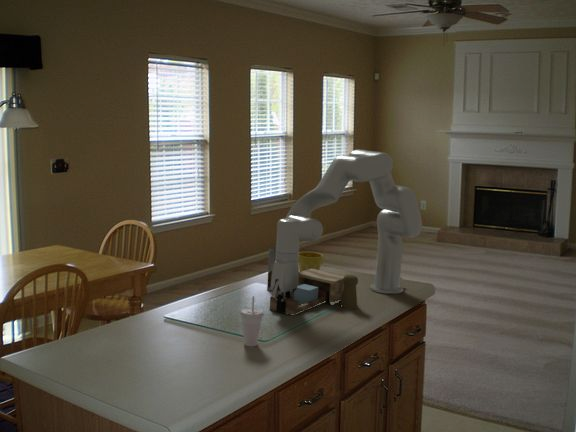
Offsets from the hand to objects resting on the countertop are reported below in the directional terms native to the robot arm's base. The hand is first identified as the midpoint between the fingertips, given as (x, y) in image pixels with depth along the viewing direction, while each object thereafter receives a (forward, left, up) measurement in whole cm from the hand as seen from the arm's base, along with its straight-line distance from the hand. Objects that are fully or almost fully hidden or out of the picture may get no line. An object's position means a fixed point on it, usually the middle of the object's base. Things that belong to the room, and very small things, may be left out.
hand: (283, 310), depth 217 cm
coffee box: (-22, -17, -1) cm, 28 cm away
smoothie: (+32, +10, -1) cm, 34 cm away
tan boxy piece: (-24, 0, 0) cm, 24 cm away
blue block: (-13, 0, -1) cm, 14 cm away
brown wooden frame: (-9, 0, 0) cm, 9 cm away
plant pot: (-45, -19, -1) cm, 49 cm away
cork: (-22, +12, -1) cm, 25 cm away
